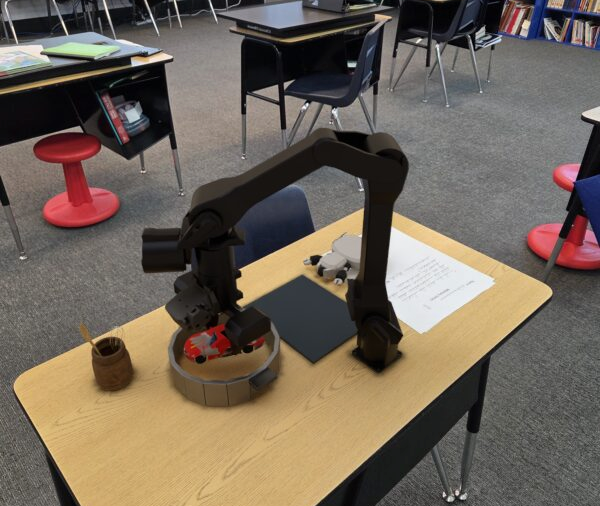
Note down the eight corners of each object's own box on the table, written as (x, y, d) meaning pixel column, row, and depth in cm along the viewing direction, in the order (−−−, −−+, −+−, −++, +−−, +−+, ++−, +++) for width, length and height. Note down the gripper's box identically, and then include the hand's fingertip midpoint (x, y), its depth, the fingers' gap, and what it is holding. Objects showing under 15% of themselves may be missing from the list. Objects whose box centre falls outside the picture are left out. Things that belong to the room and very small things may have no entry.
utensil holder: (132, 389, 88) (119, 333, 81) (92, 394, 87) (75, 338, 81) (135, 363, 93) (123, 308, 86) (97, 367, 92) (82, 312, 86)
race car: (186, 368, 87) (183, 349, 85) (183, 345, 91) (180, 327, 89) (266, 352, 90) (265, 333, 88) (259, 330, 94) (258, 313, 92)
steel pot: (310, 373, 91) (310, 351, 88) (221, 435, 80) (218, 412, 78) (230, 310, 105) (228, 289, 102) (145, 355, 94) (141, 334, 92)
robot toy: (339, 298, 109) (389, 265, 117) (339, 280, 107) (389, 248, 114) (299, 271, 117) (348, 242, 125) (298, 254, 114) (348, 226, 122)
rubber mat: (374, 321, 102) (374, 320, 102) (313, 363, 93) (313, 362, 92) (302, 275, 114) (302, 274, 114) (242, 308, 105) (241, 307, 105)
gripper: (137, 261, 83) (152, 338, 91) (206, 320, 71) (217, 402, 80) (198, 235, 89) (207, 309, 98) (271, 285, 78) (274, 364, 86)
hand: (224, 343), depth 90 cm, fingers closed on race car, 6 cm apart
